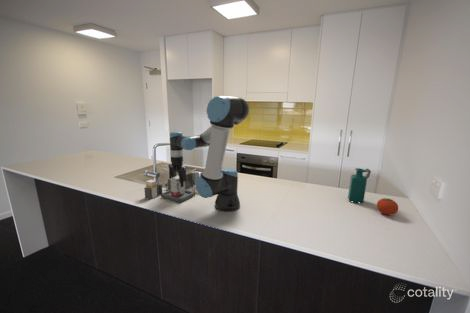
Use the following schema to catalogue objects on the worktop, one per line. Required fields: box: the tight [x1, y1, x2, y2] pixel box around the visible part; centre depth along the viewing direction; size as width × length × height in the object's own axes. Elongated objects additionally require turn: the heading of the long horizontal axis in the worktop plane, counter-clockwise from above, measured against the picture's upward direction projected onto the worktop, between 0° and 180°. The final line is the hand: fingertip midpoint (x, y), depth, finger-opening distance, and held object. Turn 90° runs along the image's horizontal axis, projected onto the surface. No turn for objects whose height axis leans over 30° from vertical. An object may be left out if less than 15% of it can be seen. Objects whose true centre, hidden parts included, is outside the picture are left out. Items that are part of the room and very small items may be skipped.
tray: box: [160, 189, 196, 204], centre depth 144 cm, size 17×14×3 cm
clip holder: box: [144, 178, 171, 200], centre depth 147 cm, size 5×21×11 cm, turn 151°
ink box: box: [170, 174, 186, 197], centre depth 142 cm, size 9×5×12 cm, turn 151°
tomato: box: [376, 197, 399, 216], centre depth 124 cm, size 10×10×10 cm
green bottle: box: [347, 167, 372, 204], centre depth 140 cm, size 10×8×22 cm
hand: (178, 190), depth 143 cm, fingers closed on ink box, 5 cm apart
